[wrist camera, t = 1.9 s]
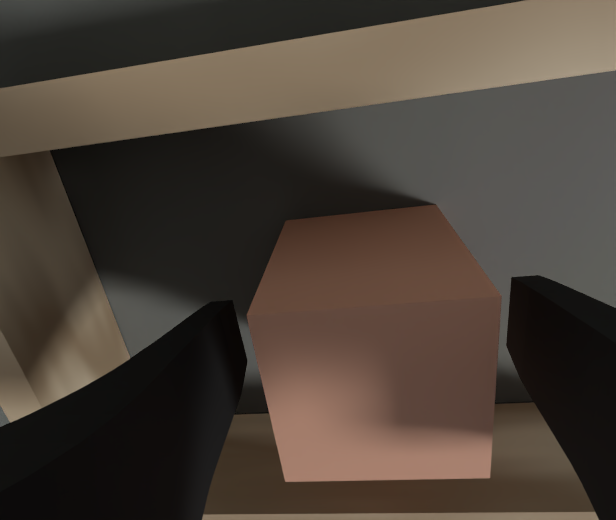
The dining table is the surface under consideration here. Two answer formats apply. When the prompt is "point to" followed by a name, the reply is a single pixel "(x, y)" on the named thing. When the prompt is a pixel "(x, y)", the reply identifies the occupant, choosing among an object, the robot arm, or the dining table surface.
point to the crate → (247, 108)
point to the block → (377, 348)
